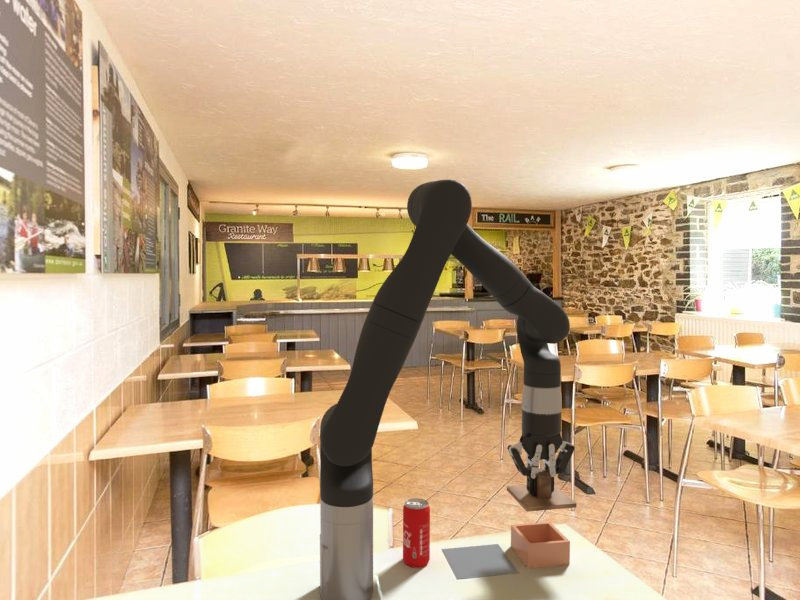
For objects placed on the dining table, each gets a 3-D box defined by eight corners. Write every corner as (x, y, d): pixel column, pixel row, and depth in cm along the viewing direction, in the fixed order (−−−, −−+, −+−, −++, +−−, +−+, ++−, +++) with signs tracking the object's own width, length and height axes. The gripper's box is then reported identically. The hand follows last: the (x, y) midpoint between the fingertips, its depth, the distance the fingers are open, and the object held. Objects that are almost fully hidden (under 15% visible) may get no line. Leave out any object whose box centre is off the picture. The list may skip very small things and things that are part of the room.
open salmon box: (527, 571, 103) (528, 545, 103) (510, 548, 111) (511, 524, 111) (569, 566, 105) (569, 541, 104) (549, 545, 113) (549, 521, 113)
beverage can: (427, 572, 102) (427, 510, 102) (400, 569, 104) (400, 507, 103) (431, 558, 108) (431, 498, 107) (405, 555, 109) (405, 496, 108)
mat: (457, 582, 99) (457, 579, 99) (441, 552, 110) (441, 549, 110) (519, 575, 101) (519, 572, 101) (498, 546, 112) (498, 543, 112)
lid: (526, 511, 102) (527, 483, 101) (506, 490, 111) (507, 464, 111) (576, 507, 103) (576, 480, 103) (552, 486, 113) (552, 461, 113)
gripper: (515, 414, 102) (514, 505, 102) (584, 410, 104) (582, 499, 105) (500, 404, 109) (499, 489, 110) (565, 401, 111) (564, 484, 112)
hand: (540, 494), depth 107 cm, fingers closed on lid, 2 cm apart
